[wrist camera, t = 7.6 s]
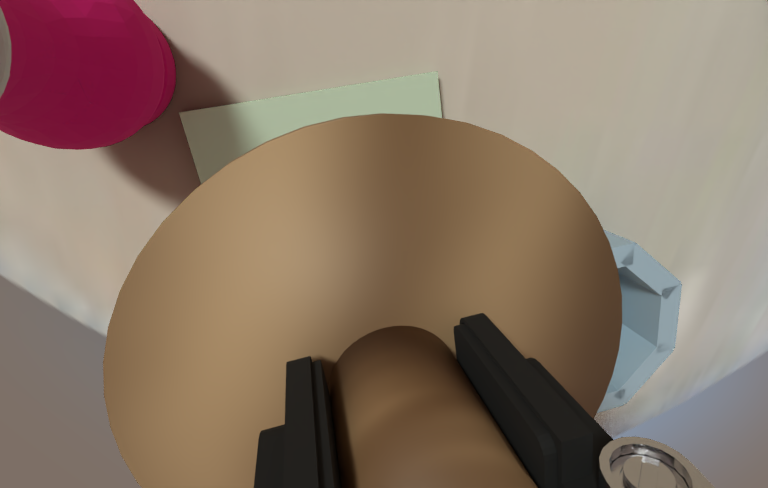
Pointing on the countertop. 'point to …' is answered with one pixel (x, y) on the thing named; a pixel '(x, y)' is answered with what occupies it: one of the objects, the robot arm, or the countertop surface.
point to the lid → (357, 304)
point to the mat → (299, 116)
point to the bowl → (641, 319)
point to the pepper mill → (81, 71)
